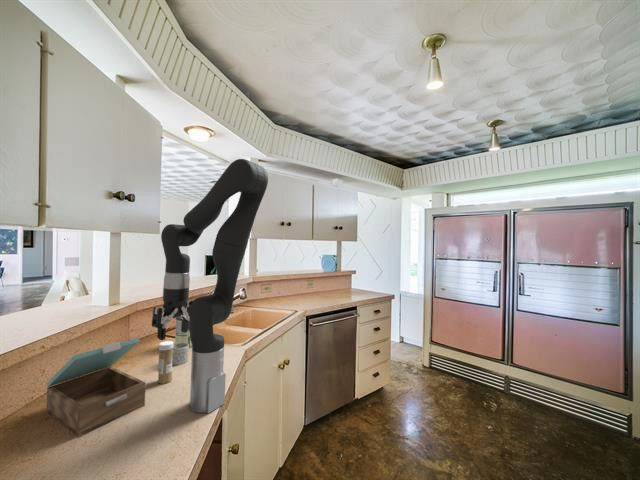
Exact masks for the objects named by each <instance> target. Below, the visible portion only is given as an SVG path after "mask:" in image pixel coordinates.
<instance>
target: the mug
mask: <svg viewBox="0 0 640 480" xmlns="http://www.w3.org/2000/svg"><path fill="white" fill-rule="evenodd" d="M189 351H190V348H189V344H188V343H176V344H175V343H173V355H172V358H173V359H172V366H180V365H184V364H187V363H188V362H189Z"/></svg>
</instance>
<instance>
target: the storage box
mask: <svg viewBox="0 0 640 480" xmlns="http://www.w3.org/2000/svg"><path fill="white" fill-rule="evenodd" d="M46 388H47V389H46V413H47V414H49V415H50V416H51V417H52V418H53V419H55V420H56V421H58V422H59V423H60V424H62V425H63V426H64V427H65V428H67V429H68V430H69V431H70V432H72V433H73V434H74V435H76V436H77V437H78V438H80V437H82V436H84V435H86V434H88V433H90V432H92V431H95V430H97V429H98V428H101V427H103V426H105V425H107V424H109V423H112V422H113V421H115V420H117V419H120V418H121V417H124V416H125V415H128V414H130V413H131V412H134V411H136V410H138V409H140V408H142V407H144V406H145V405H146V404H145V403H146V381H145V380H144V381H143V380H141V379H140V378H137V377H135V376H133V375H130V374H128V373H127V372H123V371H121V370H120V369H118V368H115V367H113V366H110V367H107V368H104V369H101V370H98V371H95V372H92V373H89V374H86V375H83V376H80V377H77V378H74V379H71V380H68V381H65V382H62V383H59V384H56V385H53V386H49V387H47V386H46Z"/></svg>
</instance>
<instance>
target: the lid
mask: <svg viewBox="0 0 640 480" xmlns="http://www.w3.org/2000/svg"><path fill="white" fill-rule="evenodd" d="M140 342H141V341H140V338H139V337H137V338H133V339H130V340H126V341H121V342H120V341H116V342H112V343H108V344H105V345H102V346H101V347H100V348H97V349H93V350H89V351H86V352H82V353H78V354H75V355H73V356H71V358H70V359H69V360H68V361H66V363H65V364H64V365H63V366H62V367H61V368H59V370H58V371H57V372H56V373H55V374H54V375H53V376H52V377H51V378H50V379H49V380H48V381H47V382H46V388H47V387H51V386H54V385H57V384H60V383H63V382H66V381H69V380H72V379H75V378H78V377H81V376H84V375H87V374H90V373H93V372H96V371H99V370H102V369H105V368H108V367H113V365H115V364H117V362H118V361H119V360H120V359H122V358H123V356H125V355H126V354H127V353H128V352H130V351H131V350H132V349H133V348H134V347H135V346H137V345H138V344H139V343H140Z"/></svg>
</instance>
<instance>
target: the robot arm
mask: <svg viewBox="0 0 640 480" xmlns="http://www.w3.org/2000/svg"><path fill="white" fill-rule="evenodd" d="M268 183H269V174H268V171H267V169H266V168H265V167H264V166H262V165H260V164H257V163H256V162H253V161H250V160H248V159H246V158H238V159H235V160H234V161H232V162H231V163H230V164H229V165H228V166H227V168H226V169H225V170H224V171H223V173H222V174H221V175H220V176H219V178H218V179H217V181H216V182H215V183H213V186H212V187H211V189H210V190H209V191H208V192H207V194H206V195H205V196H204V197H203V198H202V199H201V200H200V201H199V202H198V203H197V204H196V205H195V206H194V207H192V209H191V210H190V211H188V212H187V213H186V214H185V215H184V216H183V224H175V223H174V224H173V223H171V224H167V225H165V226H164V228H163V229H162V231H161V234H160V235H161V237H160V239H161V243H162V248H163V251H164V257H165V268H164V269H165V270H164V271H165V273H164V277H163V287H162V289H163V290H162V302H163V306H161V307H158V306H155V307H153V310H152V318H151V327H153V328H157V335H156V336H157V337H156V338H157V339H158V340H160V341H165V340H166V332H167V331H166V330H167V329H166V328H167V325H168V324H169V323H170V322H171V321H172V319H176V317H181V318H182V319H183V321H182V325H181V331H182V332H187V331H188V328H189V321H190V339H191V343H192V348H191V365H190V366H191V367H190V368H191V369H190V390H189V391H190V394H189V395H190V397H189V398H190V399H189V401H190V402H189V408H190V410H191V411H193V412H194V413H198V414H199V413H203V414H204V413H207V414H210V413H211V412H213V411H215V410H217V409H218V408H220V407H221V406H223V405H224V404H225V403H226V401H225V400H226V398H225V397H226V374H227V373H226V372H224V366H225V365H224V361H225V360H224V359H225V357H224V356H225V337H224V336H223V335H222V334H217V333H214V326H215V325H219V324H221V323H223V322H225V321H227V319H229V317H230V314H231V313H232V308H233V303H234V297H235V292H236V286H237V282H238V278H239V274H240V271H241V267H242V263H243V260H244V257H245V253H246V250H247V247H248V243H249V239H250V235H251V232H252V228H253V225H254V222H255V219H256V216H257V214H258V210H259V208H260V205H261V203H262V201H263V198H264V196H265V194H266V190H267V187H268ZM238 193H239V194H240V195H239V198H238V201H237V204H236V207H235V208H234V210H233V211H232V213H231V214H230V216H228V218H226V220H225V221H224V222H223V223H222V225H221V226H220V228H219V230H218V231H217V234H216V236H215V240H214V244H213V247H212V253H211V255H212V261H213V264H214V267H215V272H216V275H217V277H216V278H217V279H216V284H215V287H214V291H213V293H212V294H208V295H204V296H203V295H202V296H198V297H196V298H194V299H192V300H191V299H189V296H190V283H191V282H190V268H191V267H190V263H191V258H190V256H189V255H188V254H186V253H182V252H181V248H180V247H190V246H192V245H194V244H196V243H197V242H198V240H199V238H200V237H201V236H202V234H203V232H204V230H206V229H207V228H208V227H210V226H211V225H212V224H213V223H214V222H215V221H216V220H217V219H218V217H219V216H220V214H221V212H222V210H223V207H224V204H225V203H226V201H228V199H230V198H231V197H232V196H234V195H236V194H238Z"/></svg>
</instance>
